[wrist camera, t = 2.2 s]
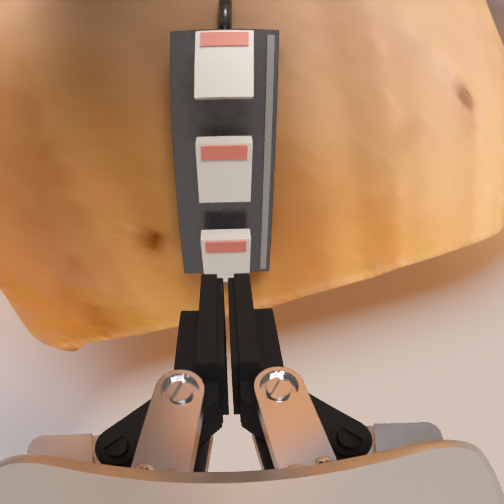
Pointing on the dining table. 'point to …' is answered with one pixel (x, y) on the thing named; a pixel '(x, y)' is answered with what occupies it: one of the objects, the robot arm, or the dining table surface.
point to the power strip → (224, 124)
